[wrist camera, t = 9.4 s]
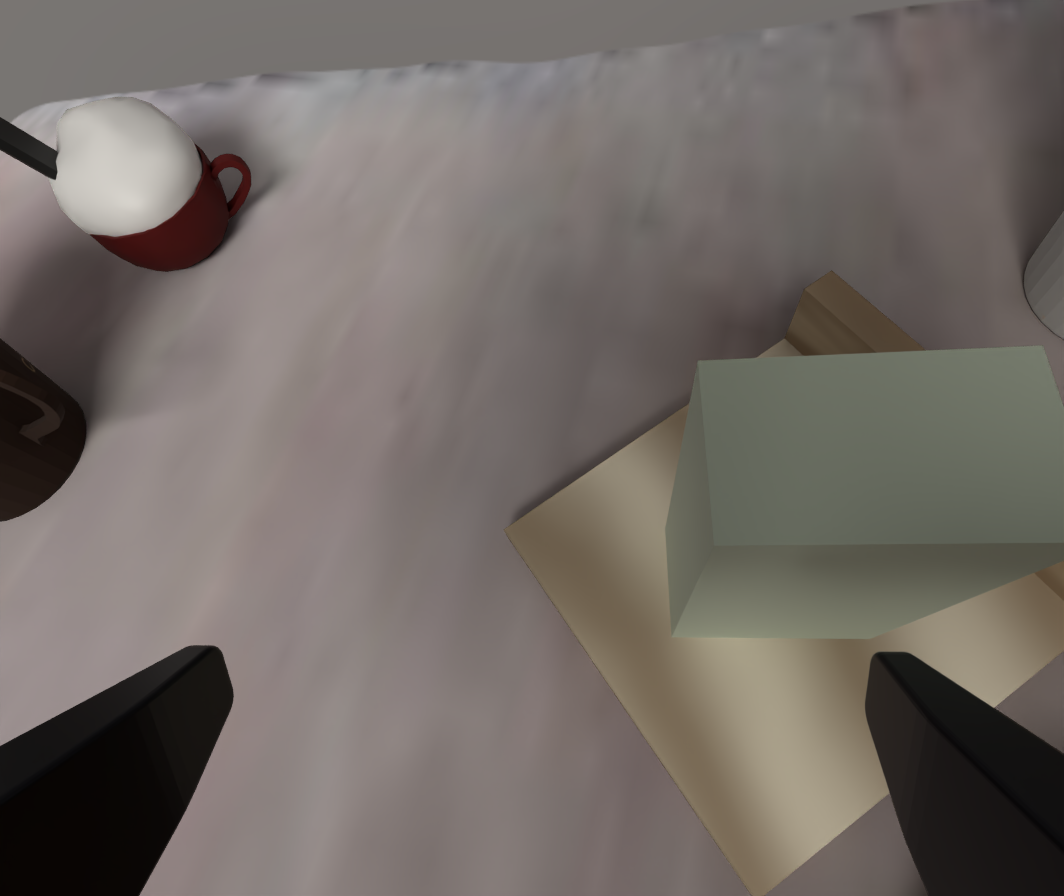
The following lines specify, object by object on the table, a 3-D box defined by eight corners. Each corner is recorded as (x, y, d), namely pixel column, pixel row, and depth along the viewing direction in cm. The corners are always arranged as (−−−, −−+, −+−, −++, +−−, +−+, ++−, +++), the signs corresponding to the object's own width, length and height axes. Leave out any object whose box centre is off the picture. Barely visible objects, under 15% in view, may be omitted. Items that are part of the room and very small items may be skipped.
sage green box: (869, 639, 20) (1109, 542, 10) (671, 637, 21) (714, 545, 11) (849, 523, 22) (1041, 340, 12) (664, 525, 22) (696, 356, 12)
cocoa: (282, 195, 33) (134, -76, 23) (250, 293, 31) (65, 38, 20) (110, 196, 34) (-109, -62, 24) (64, 292, 32) (-207, 48, 21)
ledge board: (750, 893, 19) (780, 930, 15) (508, 537, 24) (487, 501, 20) (1098, 610, 21) (1200, 583, 17) (802, 335, 26) (831, 270, 22)
